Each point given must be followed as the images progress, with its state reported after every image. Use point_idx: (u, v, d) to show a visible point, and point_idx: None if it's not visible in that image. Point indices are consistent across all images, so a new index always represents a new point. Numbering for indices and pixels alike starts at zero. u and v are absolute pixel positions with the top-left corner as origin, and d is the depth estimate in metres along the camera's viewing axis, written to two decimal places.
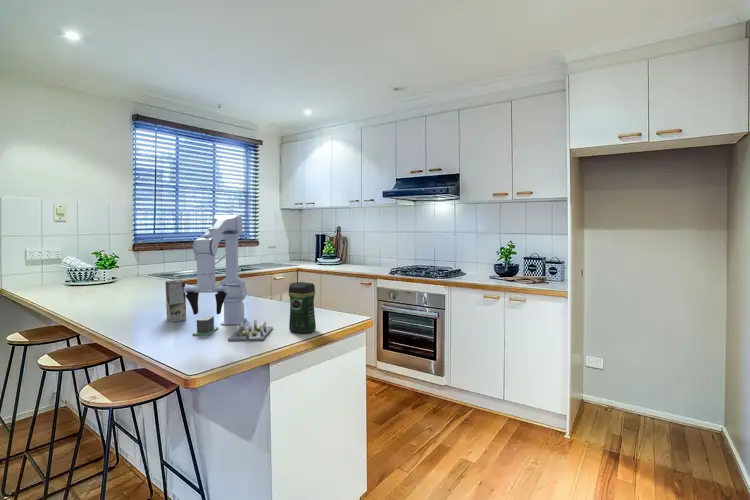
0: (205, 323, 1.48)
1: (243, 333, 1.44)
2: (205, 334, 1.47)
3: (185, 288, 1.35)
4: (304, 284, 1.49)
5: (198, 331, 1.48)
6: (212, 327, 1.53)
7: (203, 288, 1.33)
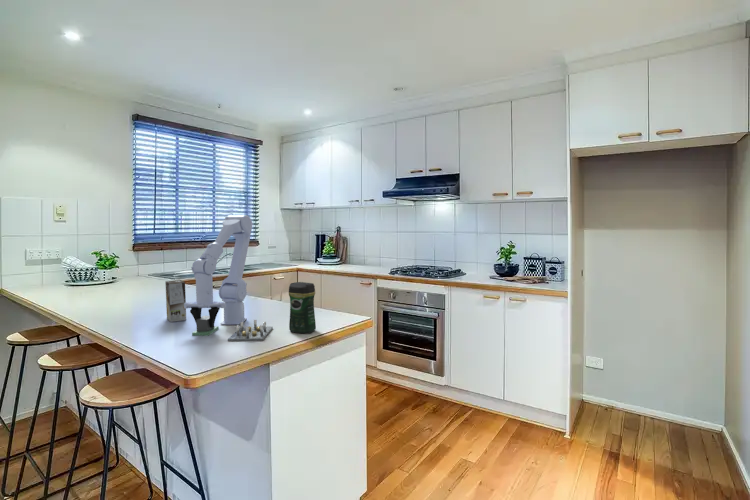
0: (204, 322, 1.48)
1: (243, 333, 1.44)
2: (204, 333, 1.47)
3: (185, 304, 1.49)
4: (304, 284, 1.49)
5: (198, 330, 1.48)
6: None
7: (202, 304, 1.47)
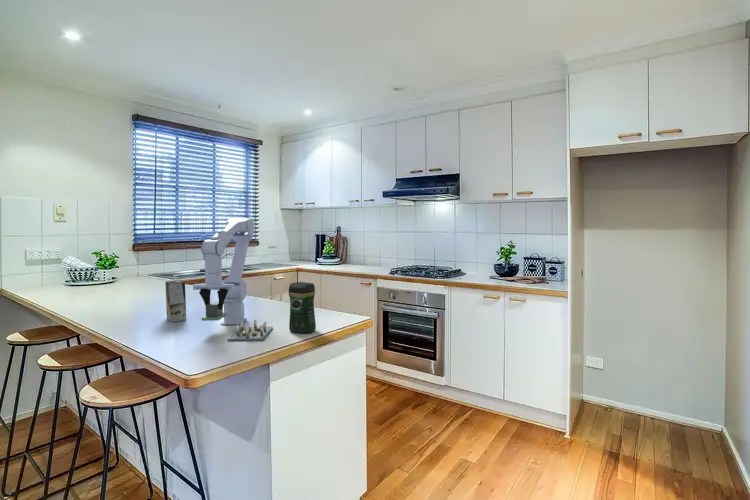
0: (214, 307, 1.47)
1: (243, 333, 1.44)
2: (214, 318, 1.45)
3: (194, 286, 1.48)
4: (304, 284, 1.49)
5: (207, 316, 1.47)
6: (221, 312, 1.51)
7: (211, 285, 1.46)
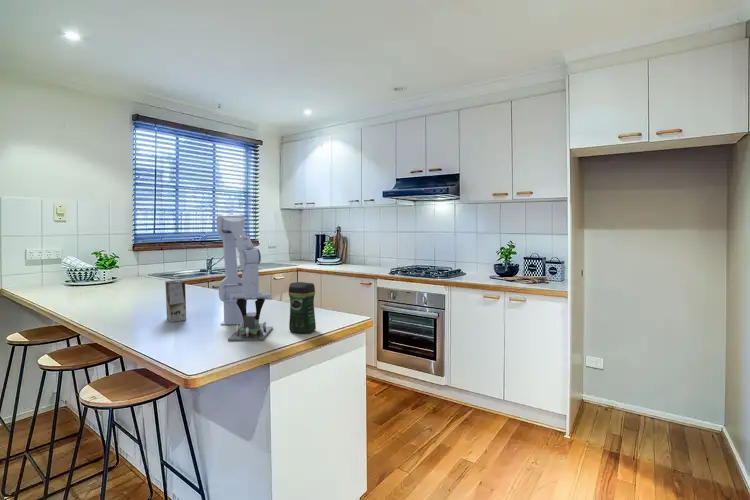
0: (252, 319, 1.44)
1: (243, 333, 1.44)
2: (252, 330, 1.43)
3: (231, 296, 1.46)
4: (304, 284, 1.49)
5: (245, 327, 1.44)
6: (257, 323, 1.49)
7: (248, 295, 1.44)
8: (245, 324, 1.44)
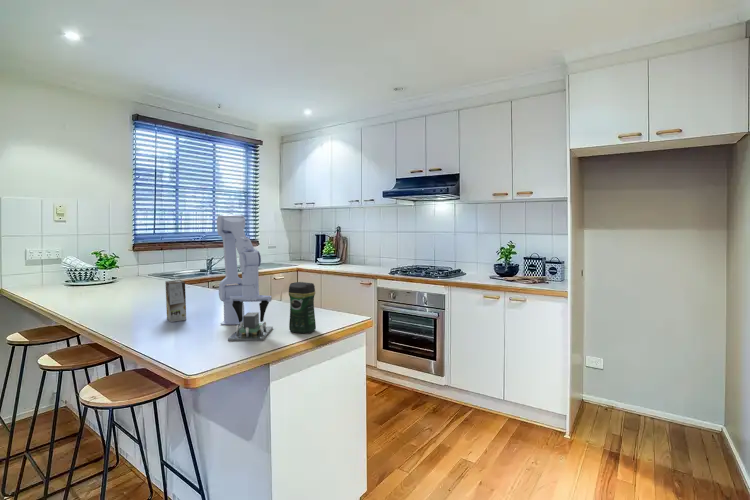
0: (252, 319, 1.44)
1: (243, 333, 1.44)
2: (252, 330, 1.43)
3: (231, 298, 1.46)
4: (304, 284, 1.49)
5: (245, 327, 1.44)
6: (257, 323, 1.49)
7: (248, 298, 1.44)
8: (245, 324, 1.44)
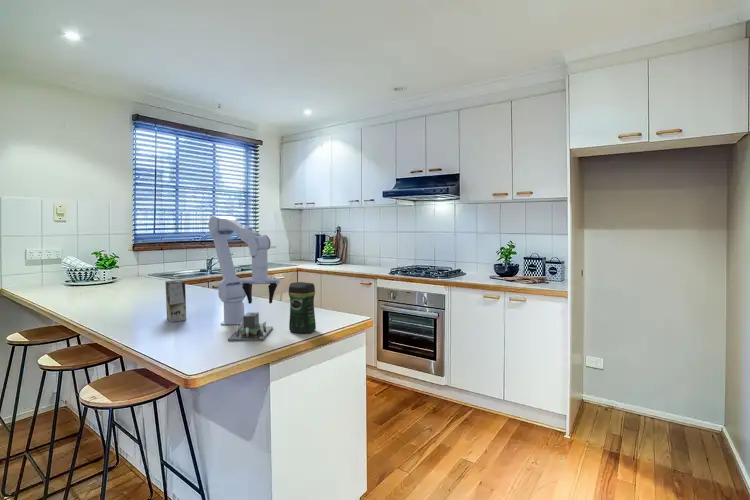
0: (252, 319, 1.44)
1: (243, 333, 1.44)
2: (252, 330, 1.43)
3: (241, 280, 1.51)
4: (304, 284, 1.49)
5: (245, 327, 1.44)
6: (257, 323, 1.49)
7: (258, 280, 1.49)
8: (245, 324, 1.44)
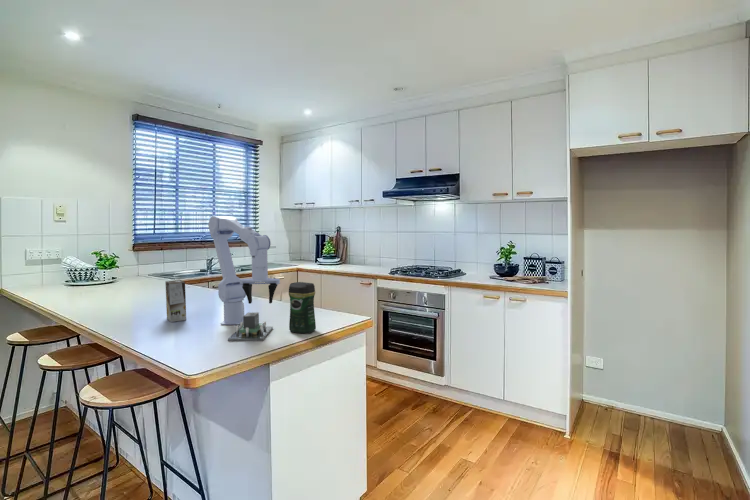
0: (252, 319, 1.44)
1: (243, 333, 1.44)
2: (252, 330, 1.43)
3: (241, 280, 1.51)
4: (304, 284, 1.49)
5: (245, 327, 1.44)
6: (257, 323, 1.49)
7: (258, 280, 1.49)
8: (245, 324, 1.44)
